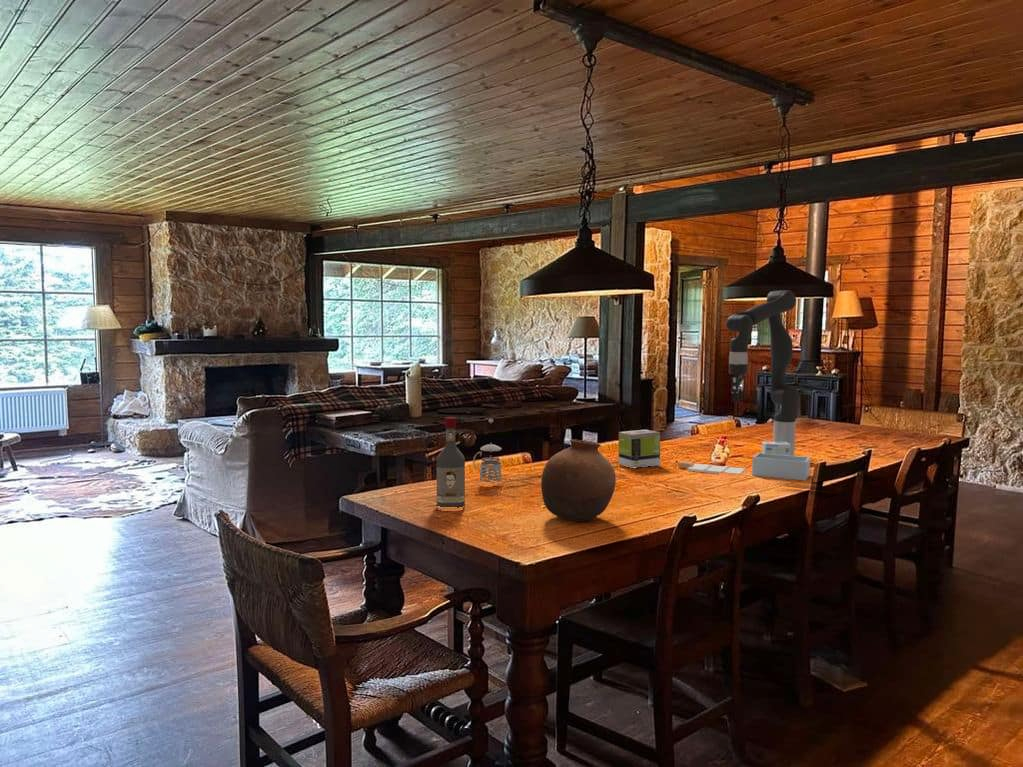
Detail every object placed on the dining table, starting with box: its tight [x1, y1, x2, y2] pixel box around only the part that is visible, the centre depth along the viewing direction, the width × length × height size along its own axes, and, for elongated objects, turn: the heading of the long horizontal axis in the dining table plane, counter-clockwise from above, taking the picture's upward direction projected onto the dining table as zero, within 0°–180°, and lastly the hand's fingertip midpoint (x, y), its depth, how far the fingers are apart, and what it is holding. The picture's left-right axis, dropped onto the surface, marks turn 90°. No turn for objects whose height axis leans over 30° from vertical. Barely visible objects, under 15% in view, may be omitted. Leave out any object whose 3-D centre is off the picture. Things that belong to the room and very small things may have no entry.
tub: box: [751, 452, 811, 481], centre depth 295 cm, size 11×20×8 cm, turn 62°
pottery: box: [540, 438, 617, 522], centre depth 231 cm, size 23×23×25 cm
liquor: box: [436, 416, 466, 508], centre depth 244 cm, size 9×9×30 cm
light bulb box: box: [761, 441, 791, 456], centre depth 314 cm, size 11×7×11 cm, turn 85°
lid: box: [677, 460, 746, 475], centre depth 308 cm, size 12×26×2 cm, turn 61°
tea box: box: [618, 429, 661, 469], centre depth 318 cm, size 15×10×15 cm, turn 115°
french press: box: [472, 418, 502, 483], centre depth 280 cm, size 10×12×25 cm
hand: (737, 401), depth 312 cm, fingers open, 8 cm apart
